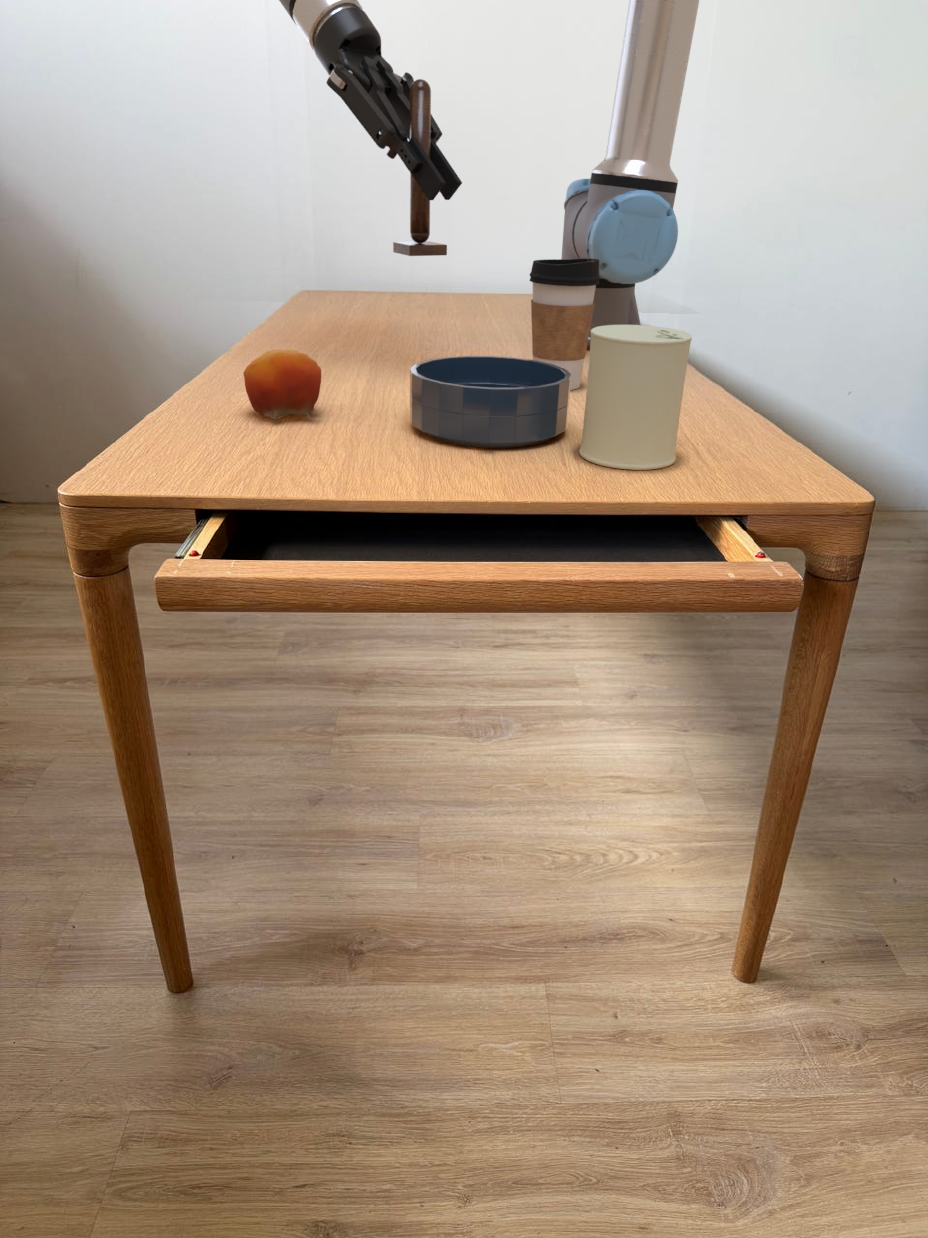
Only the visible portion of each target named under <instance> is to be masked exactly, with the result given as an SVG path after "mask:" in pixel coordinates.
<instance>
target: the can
mask: <svg viewBox="0 0 928 1238" xmlns="http://www.w3.org/2000/svg"><path fill="white" fill-rule="evenodd" d="M692 340H693V336H692V334H690V333H689V332H686V331H684V330H679V329H676V328H670V327H666V326H665V327H664V326H655V325H643V324H641V325H606V326H599V327H595V328H593V329H592V330H591V344H590V348H589V357H588V358H589V359H588V371H587V383H586V393H585V394H586V395H585V405H584V415H583V427H582V435H581V443H580V447H579V450H578V451H579V455H580V456H581V457H582V459H584V460H586V461H588V462H590V463H593V464H595V465H598V466H601V467H602V466H603V467H606V468H611V469H621V470H630V471H647V470H657V469H662V468H667V467H670V466H671V465H673V464H674V463H675V462H676V461H677V453H676V452H677V451H676V450H677V440H678V433H679V432H678V431H679V425H680V424H679V423H680V418H681V409H682V403H683V395H684V388H685V382H686V376H687V375H686V374H687V368H688V363H689V362H688V361H689V354H690V347H691V343H692Z"/></svg>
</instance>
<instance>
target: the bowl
mask: <svg viewBox="0 0 928 1238" xmlns="http://www.w3.org/2000/svg"><path fill="white" fill-rule="evenodd" d="M570 387H571V373H569V372H568V371H567V370H566V369H564V368H561V367H559V366H556V365H553V364H550V363H545V362H540V361H536V360H533V359H528V358H522V357H521V358H520V357H512V356H496V355H458V356H457V355H456V356H445V357H438V358H432V359H427V360H423V361H421V362H416V363H415V364H413V365H412V366H411V367H410V368H409V420H410V423H411V425H412V426H413V427H414V428H416V429H417V430H419V431H420V432H423V433H424V435H427V436H428V437H430V438H432V439H435V440H437V441H441V442H443V443H446V444H447V443H448V444H452V445H458V446H463V447H473V448H485V449H507V448H508V449H509V448H511V449H512V448H521V447H527V446H534V445H538V444H542V443H545V442H548V441H550V440H551V439H553V438H554V437H556V436H558V435H560V434H562V433H564V432H565V431H566V430H567V427H568V422H569V411H570V410H569V409H570V397H571V390H570Z"/></svg>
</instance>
